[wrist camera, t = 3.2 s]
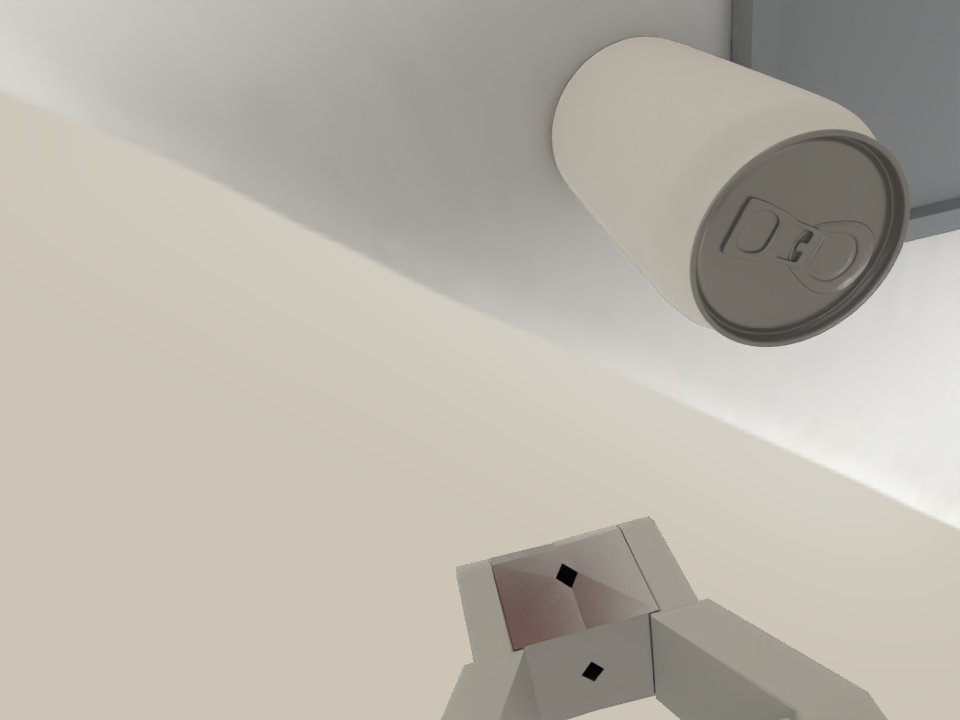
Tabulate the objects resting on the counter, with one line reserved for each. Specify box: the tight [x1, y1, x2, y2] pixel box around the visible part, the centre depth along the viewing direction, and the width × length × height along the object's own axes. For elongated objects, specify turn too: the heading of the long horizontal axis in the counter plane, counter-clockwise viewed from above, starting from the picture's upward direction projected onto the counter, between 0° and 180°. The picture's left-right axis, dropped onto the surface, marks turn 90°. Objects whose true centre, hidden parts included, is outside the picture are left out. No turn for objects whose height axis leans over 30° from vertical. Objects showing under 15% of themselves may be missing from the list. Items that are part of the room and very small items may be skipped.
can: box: [552, 36, 910, 347], centre depth 23 cm, size 6×6×12 cm
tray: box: [732, 0, 960, 242], centre depth 28 cm, size 16×14×2 cm
